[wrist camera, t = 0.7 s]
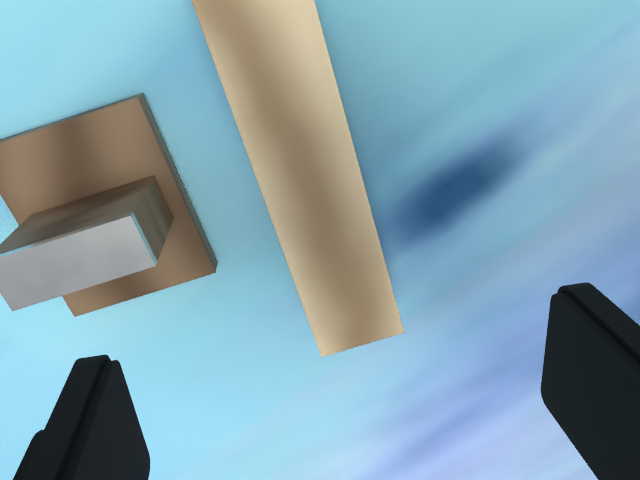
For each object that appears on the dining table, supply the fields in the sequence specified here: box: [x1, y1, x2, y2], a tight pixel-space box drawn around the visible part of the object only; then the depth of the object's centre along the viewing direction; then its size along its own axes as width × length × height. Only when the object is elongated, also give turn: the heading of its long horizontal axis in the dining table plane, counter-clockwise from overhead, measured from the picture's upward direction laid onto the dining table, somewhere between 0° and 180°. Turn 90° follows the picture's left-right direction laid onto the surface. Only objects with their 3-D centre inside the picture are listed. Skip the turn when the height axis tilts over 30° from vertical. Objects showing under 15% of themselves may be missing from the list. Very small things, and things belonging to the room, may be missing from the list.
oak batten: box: [192, 0, 404, 357], centre depth 32 cm, size 6×24×6 cm, turn 16°
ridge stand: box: [0, 93, 217, 317], centre depth 31 cm, size 10×12×8 cm
